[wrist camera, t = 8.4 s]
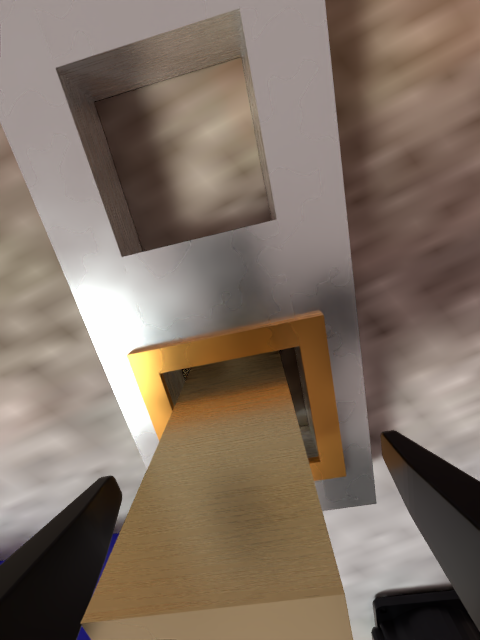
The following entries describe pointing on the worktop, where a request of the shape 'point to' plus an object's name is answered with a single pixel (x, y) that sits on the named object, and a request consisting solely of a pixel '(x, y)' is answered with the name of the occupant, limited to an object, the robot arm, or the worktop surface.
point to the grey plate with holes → (207, 252)
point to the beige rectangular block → (224, 523)
